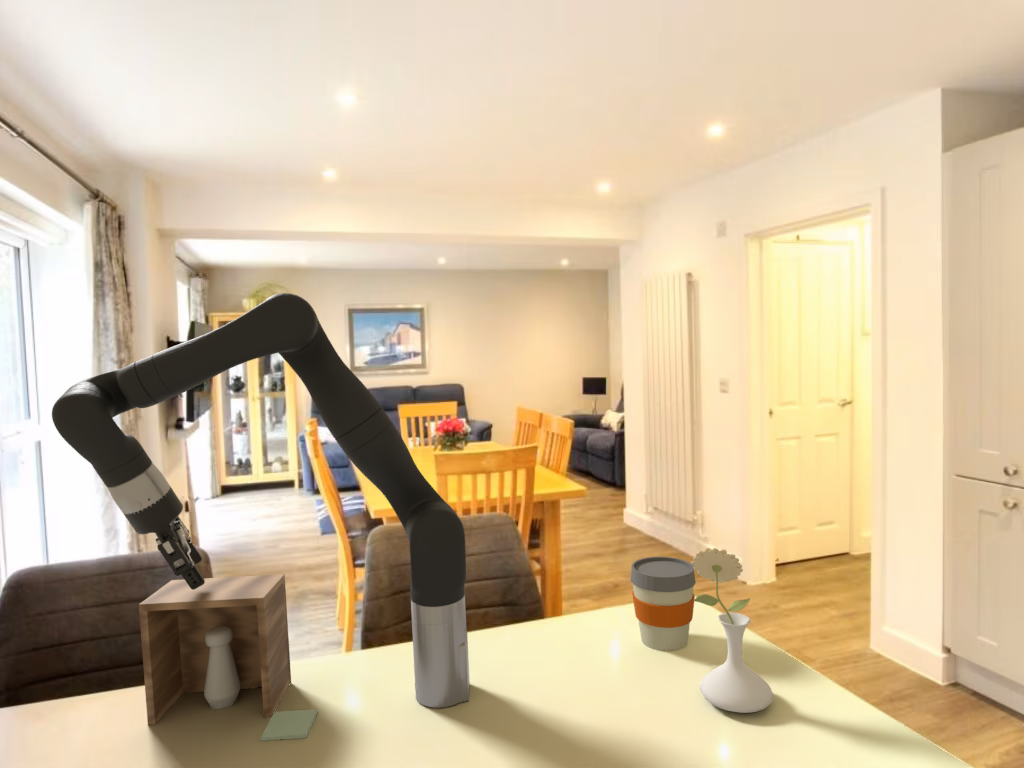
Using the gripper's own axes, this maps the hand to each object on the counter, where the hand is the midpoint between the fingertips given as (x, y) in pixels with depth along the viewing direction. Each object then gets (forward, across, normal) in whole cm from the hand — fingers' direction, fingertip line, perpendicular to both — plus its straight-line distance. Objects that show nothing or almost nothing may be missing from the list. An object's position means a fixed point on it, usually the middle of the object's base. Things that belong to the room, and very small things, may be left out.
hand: (197, 573), depth 108 cm
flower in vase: (+46, -48, -63) cm, 91 cm away
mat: (+24, -17, -2) cm, 29 cm away
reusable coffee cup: (+51, -26, -66) cm, 88 cm away
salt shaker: (+22, -3, +7) cm, 24 cm away
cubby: (+22, -3, +7) cm, 24 cm away
